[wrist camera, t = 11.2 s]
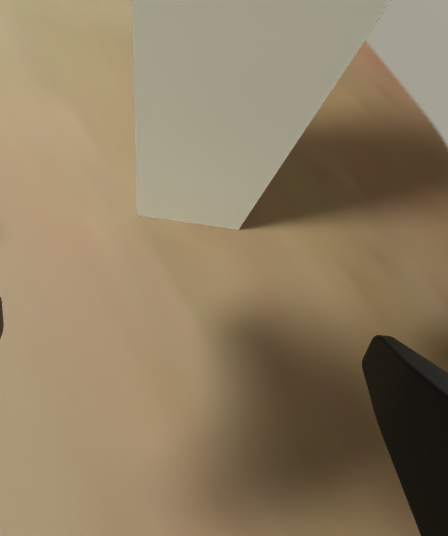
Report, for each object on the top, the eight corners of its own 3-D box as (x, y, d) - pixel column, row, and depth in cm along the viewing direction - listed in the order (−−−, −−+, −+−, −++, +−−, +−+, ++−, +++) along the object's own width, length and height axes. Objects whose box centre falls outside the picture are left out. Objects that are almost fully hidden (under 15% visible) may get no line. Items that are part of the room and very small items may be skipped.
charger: (243, 152, 19) (460, -322, 6) (238, 229, 18) (491, -149, 5) (148, 135, 18) (168, -450, 5) (137, 215, 17) (126, -280, 4)
